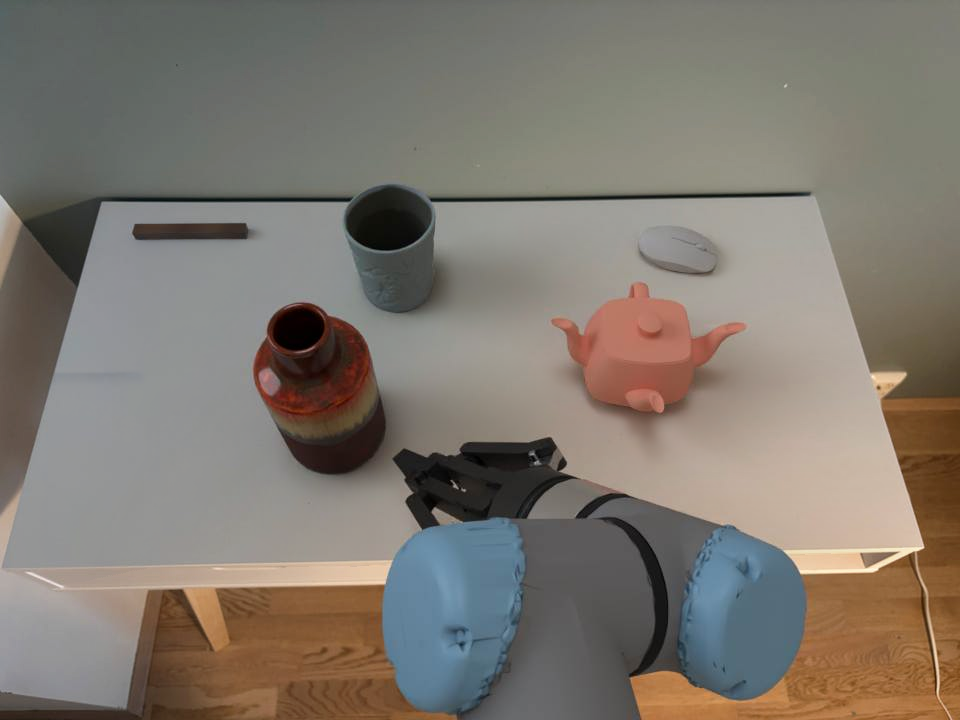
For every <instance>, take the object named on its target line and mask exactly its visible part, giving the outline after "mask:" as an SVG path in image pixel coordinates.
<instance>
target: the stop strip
mask: <svg viewBox="0 0 960 720" xmlns="http://www.w3.org/2000/svg"><path fill="white" fill-rule="evenodd" d="M248 227H249V226H248V225H247V223H246V222H209V223H208V222H207V223H206V222H204V223H203V222H202V223H201V222H197V223H196V222H193V223H192V222H191V223H189V222H188V223H187V222H186V223H185V222H184V223H180V222H179V223H134V225H133V228H132V232H131V234H132V236H133V237H134V239H135V240H208V239H210V240H212V239H219V240H220V239H221V240H222V239H248V233H249V228H248Z"/></svg>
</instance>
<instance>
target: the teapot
mask: <svg viewBox="0 0 960 720" xmlns="http://www.w3.org/2000/svg"><path fill="white" fill-rule="evenodd" d="M689 322H690V321H689V317H688V313H687V311H686V308H685V306H684V305H683V304H681V303H680V302H677V301H674V300H670V299H664V298H656V297H655V298H654V297H650V290H649V286H648V284H647V283H645V282H641V281H637V282H633V283H631V286H630V288H629V293H628V297H622V298H615V299H612V300H608V301H607V302H605V303H603V304H602V305H601V306H600V307H599V308H597V310H596V311H595V312H594V313H593V314H592V315H591V317H590V318H589V320H588V321H587V323H586V326H585V328H584V330H583V334H581V333H580V330H579V327H578V325H577V324H576V322H574V321H572V320H571V319H568V318H564V317H554V318H552V319H551V320H550V323H551V324H552V326H554V327H556V328H558V329H559V330H561V331H563V332H564V333H565V335H566V347H567V350H568V355H569V356H570V357H571V359H572V360H573V361H574V362H575V363H577V364H578V365H579V366H581V367H582V370H583V378H584V382H585V387H586V389H587V392H588V393H589V394H590V396H591V397H592V398H593V399H595V400H597V401H599V402H603V403H605V404H611V405H615V406H616V405H617V406H622V407H631V408H632V409H633V410H635V411H639V412H651V411H655V412H656V413H657V414H658V413H659V414H661V413H663V412H664V410H665V405H669V404H673V403H675V402H678V401H681V400H682V399H683V398H685V397H686V395H687V394H688V393H689V391H690V389H691V385H692V382H693V378H694V370H695V369H698V368H699V367H702V366H703V365H705V364H707V363H708V362H709V361H710V360H711V359H712V358H713V357H714V355H715V354H716V353H717V351H718V349H719V348H720V346H721V345H722V343H723V342H724V341H726V339H727V338H729V337H731V336H734V335H735V334H739V333H740V332H743V331H745V330H746V329H747V327H748V326H747V324H746V323H745V322H740V321H739V322H738V321H735V322H728V323H724V324H722V325H719V326H717V327H715V328H714V329H712V330H711V331H709V332H707V333H706V334H704V335H700V336H698V337H693V338H692V334H691V333H692V332H691V327H690V323H689Z"/></svg>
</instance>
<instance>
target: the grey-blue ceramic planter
mask: <svg viewBox="0 0 960 720" xmlns="http://www.w3.org/2000/svg"><path fill="white" fill-rule="evenodd" d="M436 218H437V217H436V209H435V207H434V204H433V203H432V200H431V199H430V198H429V197H428V196H427V195H426V194H425V193H424V192H422V191H421V190H420V189H418V188H416V187H413V186H411V185H407V184H403V183H397V182H396V183H394V182H393V183H392V182H387V183H380V184H375V185H372V186H370V187H367V188H365V189H362V190H361V191H360V192H358V193H357V194H356V195H354V197H352V199H351V200H350V201H349V202H348V203H347V205H346V206H345V208H344V211H343V214H342V218H341V219H342V221H341V224H342V229H343V232H344V234H345V237H346V240H347V243H348V246H349V249H350V250H351V255H352V258H353V261H354V264H355V268H356V269H357V274H358V277H359V280H360V282H361V286H362V289H363V292H364V294H365V296H366V299H368V300H369V302H370V303H371V304H373V305H374V306H375V307H376V308H378V309H380V310H382V311H386V312H391V313H403V312H407V311H408V312H409V311H410V310H411V311H412V310H413V309H416V308H417V307H419V306H420V305H422V304H423V303H424V302H426V300H427V299H428V297H429V296H430V295H431V292H432V291H433V290H432V289H433V287H434V286H433V285H434V271H435V270H434V266H433V262H434V257H435V250H434V249H435V240H434V237H435V232H436Z"/></svg>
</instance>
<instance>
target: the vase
mask: <svg viewBox="0 0 960 720" xmlns="http://www.w3.org/2000/svg"><path fill="white" fill-rule="evenodd" d="M252 370H253V371H252V374H253V380H254V385H255V387H256V390H257V392H258V395H259V396H260V398H261V400H262V402H263V404H264V406H265V408H266V410H267V411H268V413H269V415H270V417H271V419H272V421H273V423H274V424H275V427H276V428H277V430H278V432H279V434H280V436H281V437H282V439H283V441H284V442H285V444H286V446H287V448H288V450H289V451H290V454H291V455H292V456H293V457H294V459H295V460H296V461H297V462H298V463H299V464H300V465H302V466H303V467H304V468H306V469H308V470H309V471H311V472H315V473H318V474H323V475H340V474H346V473H350V472H352V471H355V470H357V469H358V468H360V467H362V466H363V465H365V464H366V463H368V462H369V461H370V460H371V459H372V458H373V457H374V456H375V455H376V453H377V452H378V451H379V449H380V447H381V446H382V443H383V441H384V438H385V433H386V426H387V425H386V424H387V423H386V416H385V410H384V407H383V402H382V397H381V393H380V389H379V385H378V381H377V375H376V372H375V368H374V364H373V360H372V355H371V352H370V349H369V345H368V343H367V341H366V340H365V338H364V336H363V335H362V334H361V332H360V331H359V330H358V329H357V328H356V327H354V325H352V324H351V323H349V322H347V321H346V320H343V319H341V318H339V317H336V316H332V315H328V313H327V312H326V311H325V310H324V309H323V308H322V307H321V306H319V305H316V304H314V303H311V302H303V301H300V302H299V301H298V302H293V303H289V304H287V305H285V306H283V307H281V308H279V309H278V310H277V311H276V312H275V313H273V315H272V316H271V317H270V319H269V321H268V323H267V326H266V337H265V339H264V340H263V341H262V342H261V344H260V346H259V348H258V349H257V351H256V354H255V357H254V359H253V366H252Z"/></svg>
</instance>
